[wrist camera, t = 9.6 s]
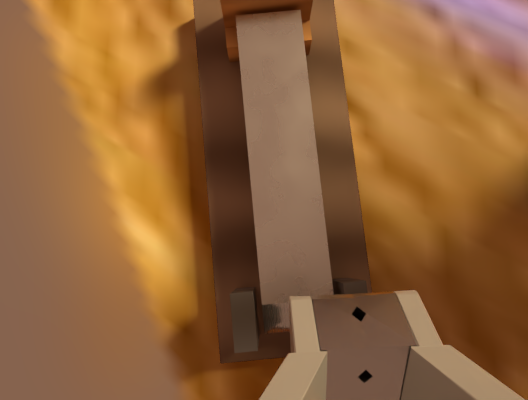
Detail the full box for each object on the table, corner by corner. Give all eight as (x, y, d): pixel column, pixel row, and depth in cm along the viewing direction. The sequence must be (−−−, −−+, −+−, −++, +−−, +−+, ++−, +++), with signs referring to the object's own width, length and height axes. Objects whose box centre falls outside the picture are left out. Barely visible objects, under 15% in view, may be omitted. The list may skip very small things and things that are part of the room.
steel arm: (332, 324, 25) (338, 329, 23) (265, 330, 25) (264, 336, 23) (298, 25, 27) (300, 7, 25) (237, 31, 27) (235, 13, 25)
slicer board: (371, 342, 28) (408, 369, 21) (223, 356, 28) (208, 389, 21) (327, 4, 32) (345, -75, 25) (197, 16, 32) (176, -59, 25)
